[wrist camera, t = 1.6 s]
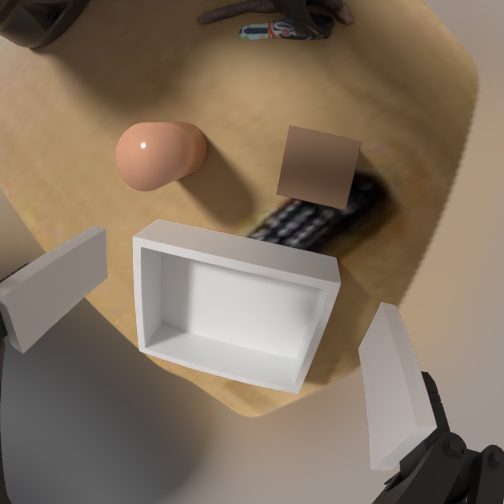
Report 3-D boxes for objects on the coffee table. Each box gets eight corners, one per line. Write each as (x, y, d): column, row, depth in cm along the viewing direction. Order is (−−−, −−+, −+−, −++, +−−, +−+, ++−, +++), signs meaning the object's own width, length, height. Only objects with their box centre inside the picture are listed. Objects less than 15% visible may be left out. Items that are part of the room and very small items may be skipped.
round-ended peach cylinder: (160, 120, 25) (118, 121, 19) (211, 125, 24) (178, 125, 18) (155, 171, 27) (113, 186, 21) (203, 179, 26) (171, 196, 20)
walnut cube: (292, 126, 23) (289, 125, 19) (350, 139, 23) (361, 142, 18) (282, 182, 25) (276, 194, 21) (338, 195, 25) (344, 210, 20)
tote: (158, 218, 29) (133, 236, 24) (336, 257, 27) (341, 283, 23) (157, 325, 34) (139, 350, 30) (300, 361, 33) (298, 393, 28)
